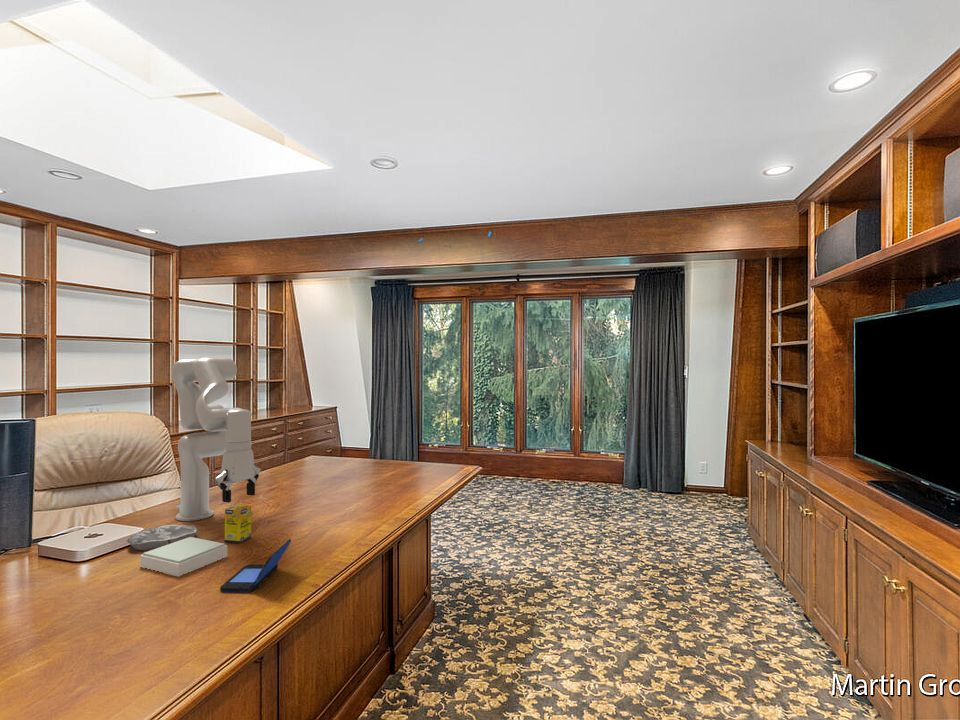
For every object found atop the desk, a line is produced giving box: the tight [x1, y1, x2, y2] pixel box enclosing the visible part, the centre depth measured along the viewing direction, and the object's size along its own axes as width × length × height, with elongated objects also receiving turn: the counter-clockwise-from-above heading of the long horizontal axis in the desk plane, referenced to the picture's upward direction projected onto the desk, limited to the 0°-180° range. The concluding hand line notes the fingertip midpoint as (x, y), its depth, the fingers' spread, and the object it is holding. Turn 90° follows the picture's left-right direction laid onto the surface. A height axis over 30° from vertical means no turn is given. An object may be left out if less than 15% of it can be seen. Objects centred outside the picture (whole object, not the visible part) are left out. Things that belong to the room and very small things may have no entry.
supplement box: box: [224, 504, 252, 544], centre depth 172 cm, size 6×6×11 cm
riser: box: [139, 536, 228, 578], centre depth 153 cm, size 16×16×4 cm
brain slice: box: [127, 524, 198, 551], centre depth 171 cm, size 20×17×3 cm
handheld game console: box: [219, 538, 292, 593], centre depth 141 cm, size 16×13×9 cm
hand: (239, 498), depth 172 cm, fingers open, 9 cm apart
